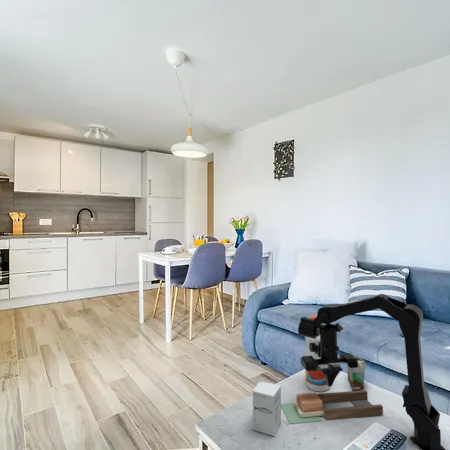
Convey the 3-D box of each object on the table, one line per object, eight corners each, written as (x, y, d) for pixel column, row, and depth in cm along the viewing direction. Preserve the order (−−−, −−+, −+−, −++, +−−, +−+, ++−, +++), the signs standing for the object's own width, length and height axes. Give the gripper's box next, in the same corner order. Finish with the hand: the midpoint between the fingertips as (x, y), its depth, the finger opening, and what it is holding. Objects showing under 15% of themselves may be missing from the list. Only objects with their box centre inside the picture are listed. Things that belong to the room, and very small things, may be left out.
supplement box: (252, 430, 96) (251, 390, 96) (260, 417, 103) (260, 379, 103) (274, 437, 93) (273, 396, 93) (282, 423, 99) (281, 384, 99)
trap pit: (379, 412, 104) (379, 412, 104) (361, 414, 103) (361, 413, 103) (367, 400, 111) (367, 400, 111) (350, 401, 111) (350, 401, 111)
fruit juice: (326, 380, 126) (325, 313, 127) (332, 392, 117) (331, 319, 117) (303, 379, 127) (302, 312, 128) (308, 391, 118) (306, 319, 118)
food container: (370, 394, 115) (370, 368, 115) (353, 393, 116) (352, 367, 116) (362, 378, 127) (362, 354, 127) (347, 377, 128) (346, 353, 129)
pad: (322, 421, 100) (322, 420, 100) (289, 423, 99) (289, 423, 99) (309, 402, 111) (309, 401, 111) (280, 404, 110) (280, 403, 110)
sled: (323, 415, 102) (323, 403, 102) (300, 417, 101) (300, 404, 101) (315, 403, 109) (315, 391, 109) (293, 405, 108) (293, 393, 108)
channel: (383, 415, 102) (382, 406, 102) (326, 420, 100) (325, 411, 101) (365, 398, 113) (365, 390, 113) (313, 402, 111) (313, 394, 111)
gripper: (342, 332, 115) (343, 373, 115) (295, 334, 114) (296, 376, 113) (358, 343, 104) (359, 389, 104) (305, 346, 102) (306, 392, 102)
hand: (329, 386), depth 106 cm, fingers closed
